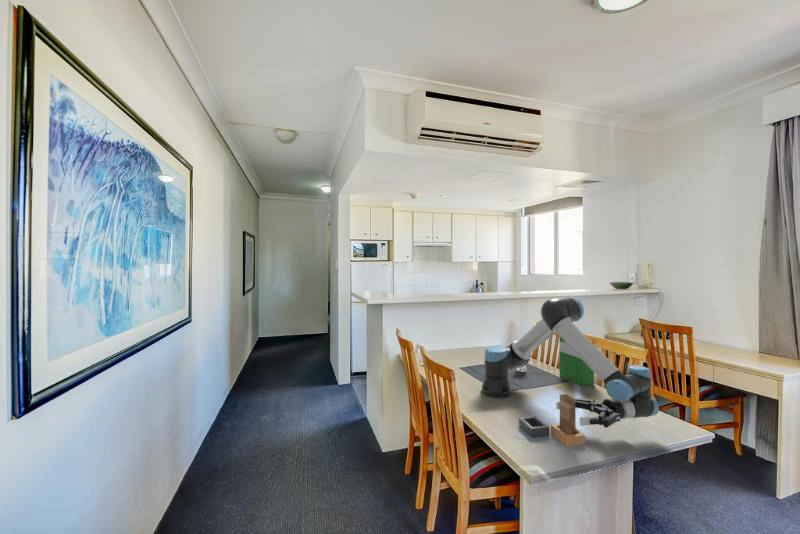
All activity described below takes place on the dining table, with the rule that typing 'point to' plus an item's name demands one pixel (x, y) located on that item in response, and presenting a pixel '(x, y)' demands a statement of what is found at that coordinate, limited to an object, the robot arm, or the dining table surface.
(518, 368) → the beer glass
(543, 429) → the grey open box
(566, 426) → the oak slat
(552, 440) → the board
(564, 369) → the hardback book
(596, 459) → the dining table surface
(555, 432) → the orange open box
